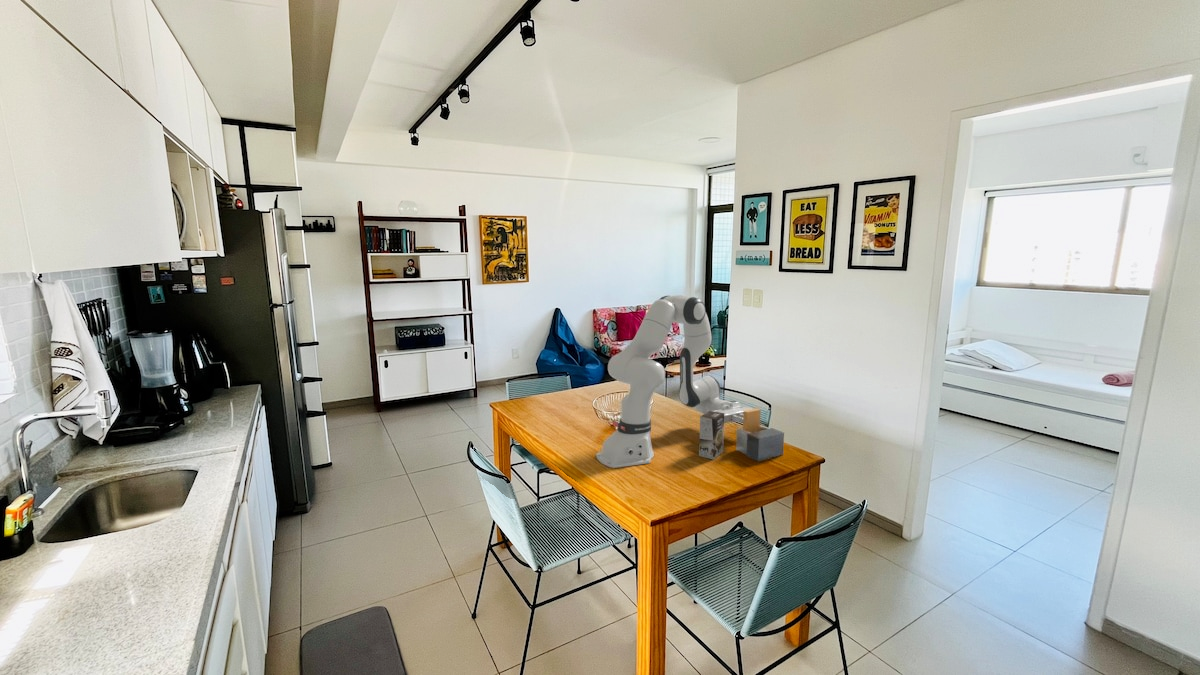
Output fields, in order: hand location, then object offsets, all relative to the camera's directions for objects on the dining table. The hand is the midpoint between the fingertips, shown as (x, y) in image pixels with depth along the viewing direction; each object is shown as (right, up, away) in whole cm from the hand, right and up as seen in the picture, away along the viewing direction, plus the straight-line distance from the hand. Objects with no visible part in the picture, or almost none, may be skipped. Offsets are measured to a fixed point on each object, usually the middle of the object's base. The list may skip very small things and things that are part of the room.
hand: (745, 420), depth 196 cm
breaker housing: (+4, -12, -5) cm, 14 cm away
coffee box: (-15, -12, -6) cm, 20 cm away
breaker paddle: (+2, -5, -2) cm, 6 cm away
